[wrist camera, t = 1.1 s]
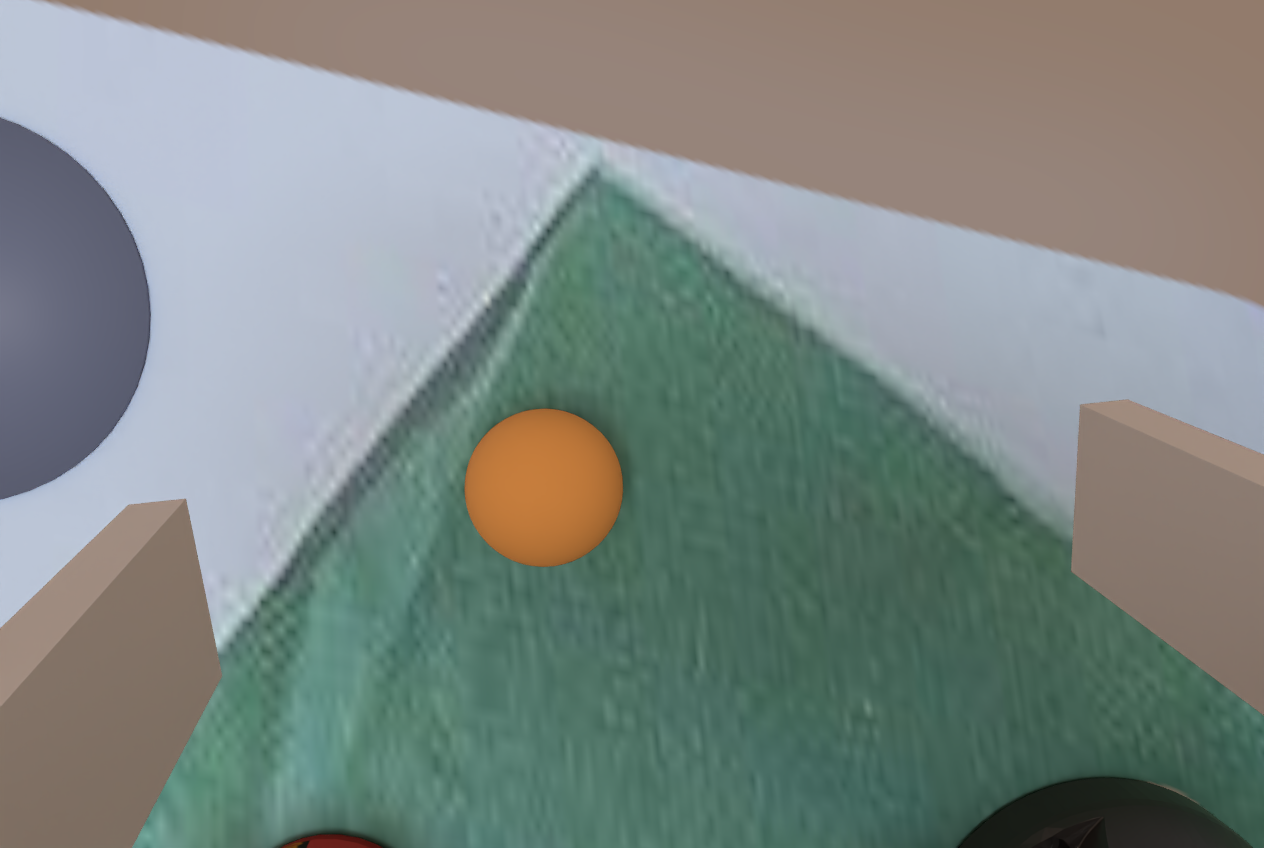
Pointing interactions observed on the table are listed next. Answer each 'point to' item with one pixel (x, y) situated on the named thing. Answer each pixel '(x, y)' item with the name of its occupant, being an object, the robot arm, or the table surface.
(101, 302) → the disc
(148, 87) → the table surface
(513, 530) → the ball
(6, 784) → the robot arm
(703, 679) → the table surface
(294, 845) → the canned food
